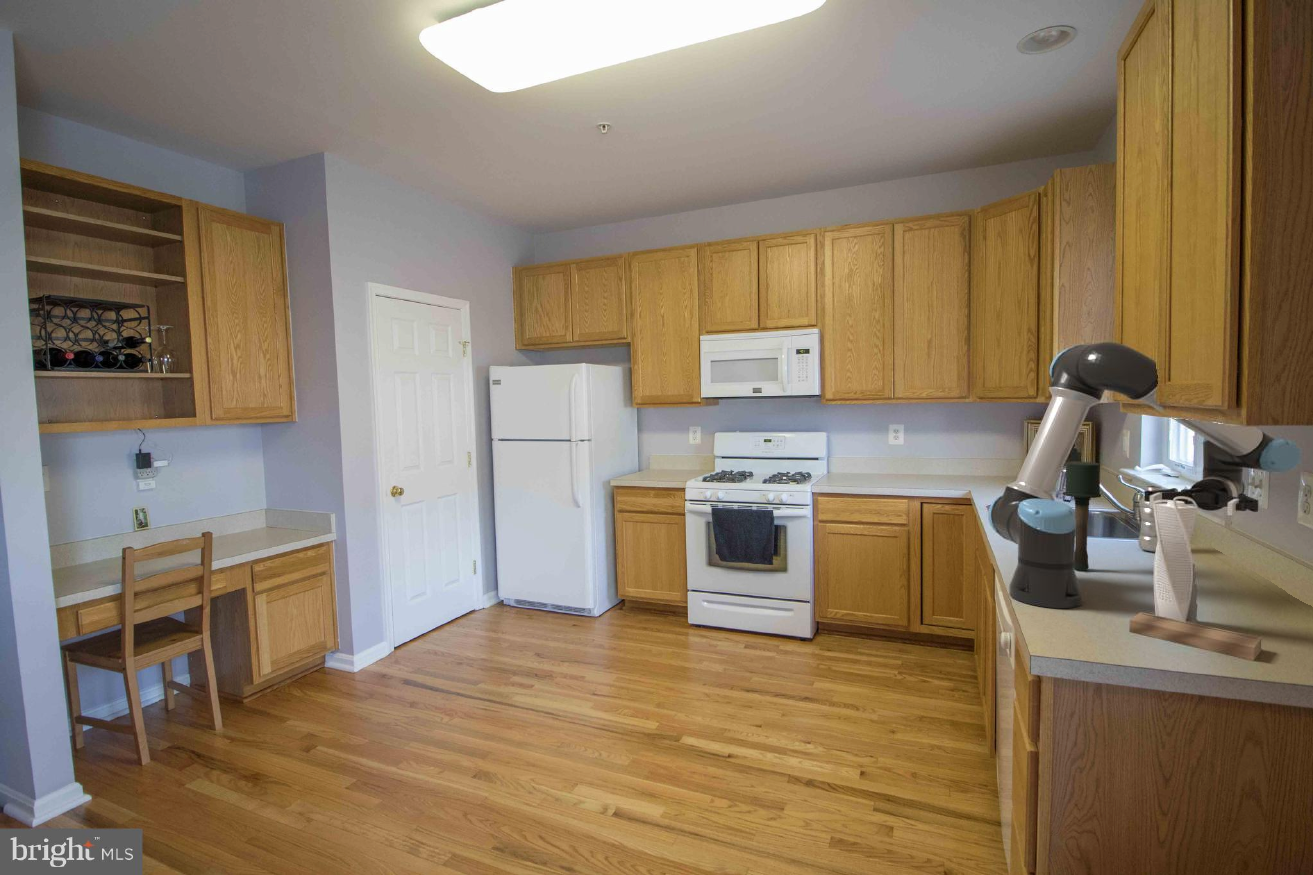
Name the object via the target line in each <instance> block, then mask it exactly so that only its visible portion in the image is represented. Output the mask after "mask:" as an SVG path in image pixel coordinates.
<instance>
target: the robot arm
mask: <svg viewBox="0 0 1313 875" xmlns="http://www.w3.org/2000/svg"><path fill="white" fill-rule="evenodd" d="M1155 361H1156V360H1154V359H1153V358H1151V357H1149V356H1148V355H1146V354H1144V353H1142V352H1140V351H1139V350H1137V349H1134V348H1132V347H1130V346H1128V345H1126V344H1122V343H1119V342H1113V341H1104V342H1097V343H1096V342H1095V343H1090V344H1087V343H1086V344H1078V345H1074V346H1070V347H1068V348H1065V349H1064V350H1062V351H1061V352H1059V353H1058V354H1057V355H1056V356H1054V358H1053V360H1052V362H1051V364H1050V366H1049V376H1050V378H1051V382H1050V385H1049V387H1048V390H1049V393H1050V395H1051V399H1050V402H1049V404H1048V406H1047V409H1046V411H1045V413H1044V415H1043V418H1042V420H1041V422H1040V424H1039V427H1038V429H1037V432H1036V434H1035V437H1034V439H1033V441H1032V444H1031V445H1030V448H1029V451H1028V453H1027V454H1026V457H1025V459H1024V462H1023V465H1022V467H1021V469H1020V470H1019V473H1018V475H1017V478H1016V480H1015V481H1014V482H1011V483H1008V484H1006V487H1005V489H1004V492H1002V493H1003V494H1002V495H1000V496H998V497H996V498H995V499H994V500H993V501H992V502H991V504H990V506H989V508H988V511H987V512H988V513H987V516H988V522H989V525H990V527H991V528H992V530H993V531H995V533H997V534H998V535H999V536H1000V537H1001V538H1003V539H1004V540H1007V541H1010V542H1011V543H1014V544H1016V545H1018V546H1017V565H1016V568H1015V570H1014V573H1013V575H1012V577H1011V578H1012V579H1011V581H1010V583H1009V589H1008V590H1009V593H1008V594H1009V596H1010V597H1011V598H1013V599H1014V600H1016V601H1019V602H1021V603H1025V604H1027V605H1031V606H1037V607H1043V608H1051V609H1052V608H1053V609H1072V608H1073V609H1074V608H1076V607H1081V606H1082V605H1083V595H1084V594H1083V592H1082V588H1081V585H1080V583H1079V581H1078V578H1077V574H1076V570H1075V569H1074V557H1075V540H1076V519H1075V509H1074V508H1073V507H1072V506H1070V505H1069V504H1067V503H1064V502H1061V501H1056V500H1055V499H1054V496H1053V491H1054V489H1055V487H1056V484H1057V482H1058V480H1059V478H1060V475H1061V473H1062V471H1063V469H1064V467H1065V465H1066V463H1067V460H1068V457H1069V455H1070V453H1071V450H1072V449H1073V446H1074V444H1075V441H1076V440H1077V437H1078V435H1079V432H1080V430H1081V429H1082V425H1083V423H1084V421H1085V419H1086V417H1087V415H1088V412H1089V409H1090V408H1091V407H1093V406H1096V405H1098V404H1100V402H1101V399H1102V398H1103V395H1104V393H1105V391H1109V392H1114V393H1118V394H1119V395H1120V394H1121V395H1123V396H1124V397H1127V398H1128V399H1130V400H1132V401H1143V402H1144V403H1146V404H1147V405H1148V406H1151V407H1152V408H1154V409H1156V410H1158V411H1159V412H1160V413H1162V412H1165V411H1162V410H1163V407H1162V406H1159V405H1158V403H1157V402H1156V391H1157V387H1158V385H1157V384H1158V380H1157V379H1158V375H1157V369H1156V362H1157V361H1156V362H1155ZM1171 419H1172V420H1174V421H1175V422H1177V423H1179V424H1180V425H1181V426H1184V427H1185V428H1187V429H1189V430H1191V431H1192V432H1194V433H1195V434H1197V435H1199V436H1200V437H1202V438H1203V441H1202V447H1203V448H1202V449H1203V450H1202V451H1203V452H1202V455H1203V456H1202V459H1203V460H1202V462H1203V463H1202V464H1203V467H1202V479H1201V480H1199V481H1197V482H1195V483H1194V484H1193V485H1191V487H1190V488H1185V489H1183V488H1181V490H1180V491H1179V489H1178V488H1177V487H1176V488H1175V487H1173V488H1167V489H1161V490H1153V491H1145V490H1144V495H1143V497H1144V501H1145V502H1150V508H1154V507H1153V502H1154V501H1156V500H1172V501H1173V499H1174V498H1175V497H1179V496H1184V497H1189V498H1191V499H1193V500H1194V501H1195V503H1196V504H1197V506H1198V509H1201V510H1203V511H1211V512H1213V511H1219V510H1222V509H1223V508H1227V516H1234V515H1236V514H1237V513H1239V511H1240V512H1246V511H1247V510H1248V511H1250V512H1253V513H1257V512H1259V499H1256V498H1253V497H1251V496H1248V495H1247V494H1246V493H1245V491H1246V483H1245V481H1244V480H1243V473H1244V472H1243V471H1244V469H1251V470H1257V471H1263V472H1264V471H1265V472H1267V473H1287V472H1291V471H1292V470H1294V469H1296V468H1297V467H1298V466H1299V465H1300V463H1301V461H1300V458H1301V453H1302V450H1301V448H1300V447H1299V445H1298V444H1296V443H1295V442H1294V441H1291V440H1289V439H1288V440H1286V439H1283V438H1274V437H1272V436H1271V435H1269V434H1267V433H1266V432H1264V431H1262V430H1261V429H1258V428H1257V427H1256V426H1254V427H1238V426H1230V425H1225V424H1218V423H1213V422H1204V421H1197V420H1186V419H1174V418H1171ZM1301 459H1302V458H1301ZM1299 462H1300V463H1299ZM1176 501H1182V502H1184V505H1194V503H1193V502H1192V501H1190V500H1187V499H1176ZM1162 503H1166V504H1167V502H1157V503H1155V504H1162Z"/></svg>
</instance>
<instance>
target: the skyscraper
mask: <svg viewBox="0 0 1313 875" xmlns="http://www.w3.org/2000/svg"><path fill="white" fill-rule="evenodd" d="M1176 499H1187V500H1188V501H1189V500H1190V501H1192V502H1193V503H1194V504H1193V505H1194V506H1193V505H1188V504H1184V502H1182V501H1176ZM1157 502H1167V503H1166V504H1155V503H1157ZM1153 507H1154V516H1155V524H1156V531H1157V538H1158V542H1157V547H1156V552H1154V562H1153V563H1154V564H1153V594H1154V596H1153V598H1154V599H1153V600H1154V611H1155V613H1154V614H1155V615H1156V616H1161V617H1165V618H1170V619H1175V620H1180V621H1184V622H1189V623H1194V624H1199V622H1198V619H1197V618H1198V614H1197V613H1198V603H1197V597H1198V584H1197V583H1196V571H1195V566H1196V565H1195V563H1194V562H1193V554H1192V549H1191V545H1190V544H1191V543H1190V542H1191V538H1192V534H1193V530H1194V527H1195V523H1196V518H1197V514H1198V509H1199V508H1198V506H1197V504H1196V503H1195V501H1194V500H1193V499H1191V498H1189V497H1184V496H1179V497H1175V498H1174V499H1173V501H1172V500H1156V501H1154V502H1153Z"/></svg>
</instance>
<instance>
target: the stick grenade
mask: <svg viewBox="0 0 1313 875" xmlns="http://www.w3.org/2000/svg"><path fill="white" fill-rule="evenodd" d="M1100 484H1101V464H1100V463H1098V462H1090V461H1068V462H1065V491H1063V494H1064V496H1067V497H1071V498H1073V499H1074V505H1075V506H1074V512H1075V520H1076V527H1075V557H1074V571H1077V572H1087V571H1088V570H1089V568H1090V565H1089V554H1088V521H1089V516H1090V515H1089V514H1090V513H1089V512H1090V500H1091V499H1096V498H1101V497H1102V493H1101V492H1100V489H1101V487H1100V486H1101V485H1100Z"/></svg>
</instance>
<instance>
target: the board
mask: <svg viewBox="0 0 1313 875" xmlns="http://www.w3.org/2000/svg"><path fill="white" fill-rule="evenodd" d="M1128 630H1129V632H1130V633H1133V634H1138V635H1143V636H1146V637H1151V638H1154V639H1160V640H1164V641H1166V642H1167V641H1168V642H1173V643H1175V644H1176V643H1177V644H1181V645H1183V646H1184V645H1185V646H1189V647H1193V648H1198V649H1203V650H1206V651H1210V652H1215V653H1218V654H1223V655H1228V656H1232V657H1237V658H1241V659H1244V660H1249V661H1255V659H1256V658H1257V657H1258V655H1259V654H1260V653H1261V651H1262V637H1259V636H1255V635H1250V634H1245V633H1240V632H1236V631H1232V630H1226V629H1221V628H1217V627H1213V626H1207V625H1202V624H1199V623H1198V624H1194V623H1189V622H1184V621H1180V620H1175V619H1170V618H1165V617H1161V616H1156V614H1150V613H1146V612H1141V611H1140V612H1138V613H1137V614H1136V615H1135V616H1133V617H1131V619H1129V628H1128Z"/></svg>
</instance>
